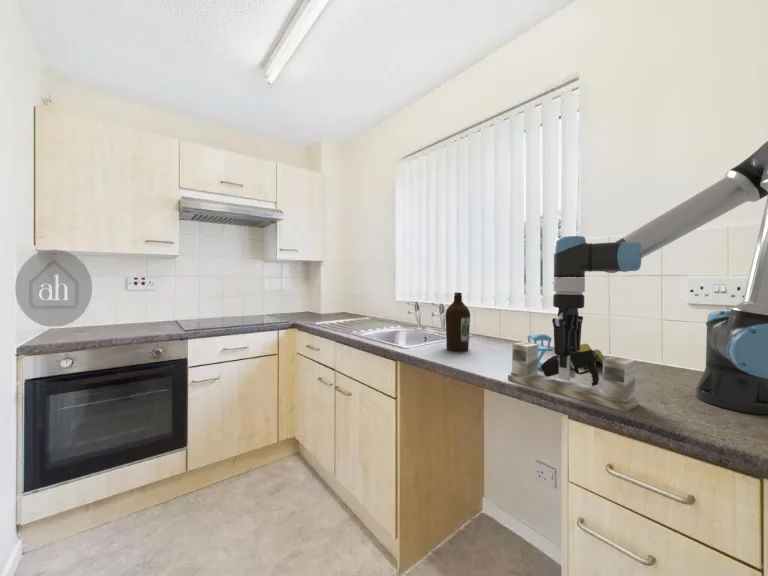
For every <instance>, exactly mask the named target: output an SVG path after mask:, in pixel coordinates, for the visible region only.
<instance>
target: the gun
mask: <svg viewBox="0 0 768 576" xmlns="http://www.w3.org/2000/svg"><path fill="white" fill-rule="evenodd" d="M593 350H594V349H592V350H587V351H583V352H574V351H572V352H569V355H568V356H570V370H574V371H575V373H576V375H584V374H589V373H590V374H591V376H590V377H591V380H592V382H591V387H594V386H597V385H599V382H600V375H599V371H598V368H597V367H596V366H597V365H595V364H594V363H596V362H597V356H596V354H595V352H594V351H593ZM542 363H543V364H542V365H541V366H540V367H541V368H539V370H538V371H539V372H541V373H543V375H544V376H547V377H552V376H556V375H559V355H556V354H555V355H553V356H551V357H550V358H548V359H546V360H545V361H544V362H542ZM586 366H587V367H586ZM581 368H584V369H583V370H584V371H581V372H580V371H579V369H581Z"/></svg>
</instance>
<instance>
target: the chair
mask: <svg viewBox="0 0 768 576" xmlns="http://www.w3.org/2000/svg"><path fill="white" fill-rule="evenodd" d="M526 338H527V341H528V342H527V343H532V341H531V339H532V340H533V341H534V342H533V344H538V342H539V341H540V344H538V352H540V354H538V371H540V370H539V368H541V365H542V364H543V363H544V362H540V361H541V359H542V358H543V356H544V354H545V353H546V352H553V348H552V347H551V342H552V339H553V338H552V337H551V336H550V335H549V334H546V333H545V334H544V333H540V334H534V333H531V334H529V335H527V336H526ZM544 341H545V342H546V341H548V342H547V345H545V344H544Z"/></svg>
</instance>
